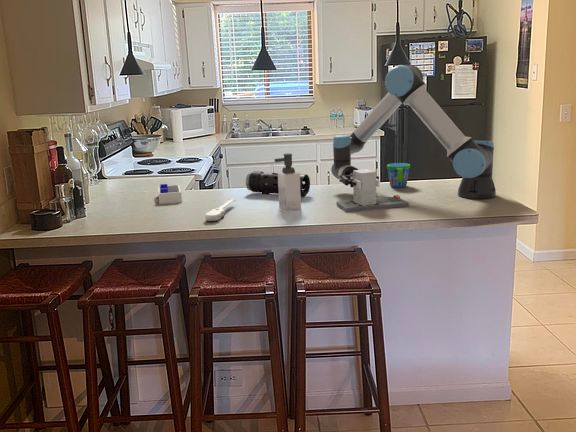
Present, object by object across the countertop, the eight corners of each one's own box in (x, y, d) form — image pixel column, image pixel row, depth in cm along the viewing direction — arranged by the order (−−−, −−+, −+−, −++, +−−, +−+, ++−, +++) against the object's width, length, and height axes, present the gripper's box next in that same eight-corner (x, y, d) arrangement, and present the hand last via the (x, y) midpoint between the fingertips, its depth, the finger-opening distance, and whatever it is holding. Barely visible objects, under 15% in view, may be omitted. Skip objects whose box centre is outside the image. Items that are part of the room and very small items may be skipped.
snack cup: (387, 183, 273) (387, 161, 271) (409, 183, 271) (409, 161, 269) (386, 189, 258) (386, 167, 256) (410, 189, 256) (410, 167, 254)
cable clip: (171, 202, 251) (170, 188, 250) (161, 202, 251) (159, 189, 249) (171, 196, 263) (170, 183, 261) (161, 197, 262) (160, 184, 260)
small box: (376, 204, 226) (376, 171, 223) (362, 206, 224) (361, 173, 221) (367, 200, 234) (366, 168, 231) (353, 202, 232) (352, 170, 229)
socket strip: (396, 199, 239) (396, 194, 238) (408, 206, 227) (408, 200, 227) (336, 205, 233) (336, 199, 232) (346, 212, 222) (346, 206, 221)
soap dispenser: (274, 208, 231) (271, 154, 226) (293, 205, 235) (291, 152, 230) (281, 212, 226) (279, 156, 220) (300, 208, 230) (299, 154, 224)
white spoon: (227, 205, 241) (226, 198, 240) (240, 205, 240) (239, 198, 239) (202, 222, 214) (202, 215, 214) (217, 222, 213) (216, 215, 212)
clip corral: (179, 194, 266) (179, 184, 265) (182, 202, 250) (181, 192, 248) (158, 195, 264) (157, 186, 263) (159, 204, 247) (158, 193, 246)
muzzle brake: (301, 199, 246) (301, 175, 244) (245, 195, 259) (244, 173, 256) (310, 194, 255) (310, 171, 252) (255, 191, 267) (254, 169, 264)
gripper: (371, 181, 247) (393, 191, 225) (327, 185, 243) (345, 196, 221) (371, 164, 245) (393, 172, 223) (327, 167, 241) (345, 177, 219)
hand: (369, 184), depth 222 cm, fingers closed on small box, 7 cm apart
